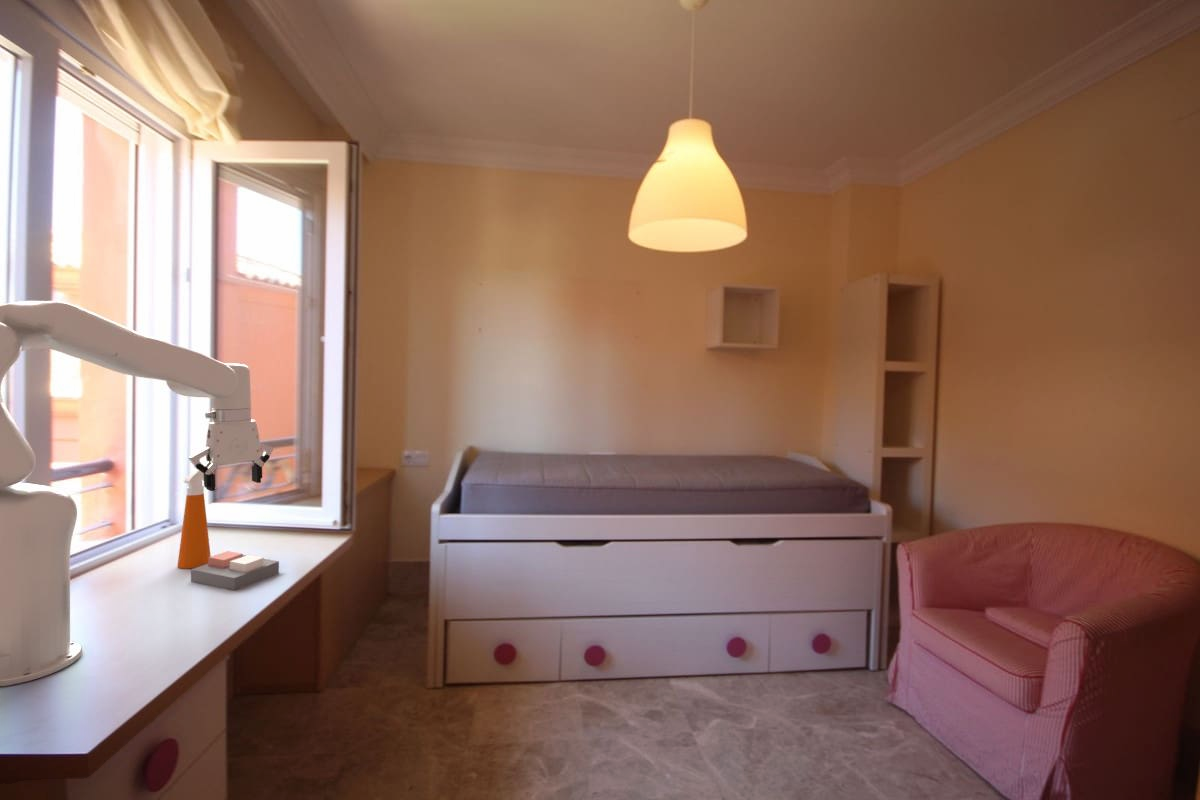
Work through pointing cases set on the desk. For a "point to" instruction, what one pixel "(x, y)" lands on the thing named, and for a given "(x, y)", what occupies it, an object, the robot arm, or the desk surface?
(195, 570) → the key panel
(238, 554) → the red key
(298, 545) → the desk surface
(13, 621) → the robot arm
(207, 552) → the spray bottle
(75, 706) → the desk surface
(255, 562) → the white key
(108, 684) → the desk surface
